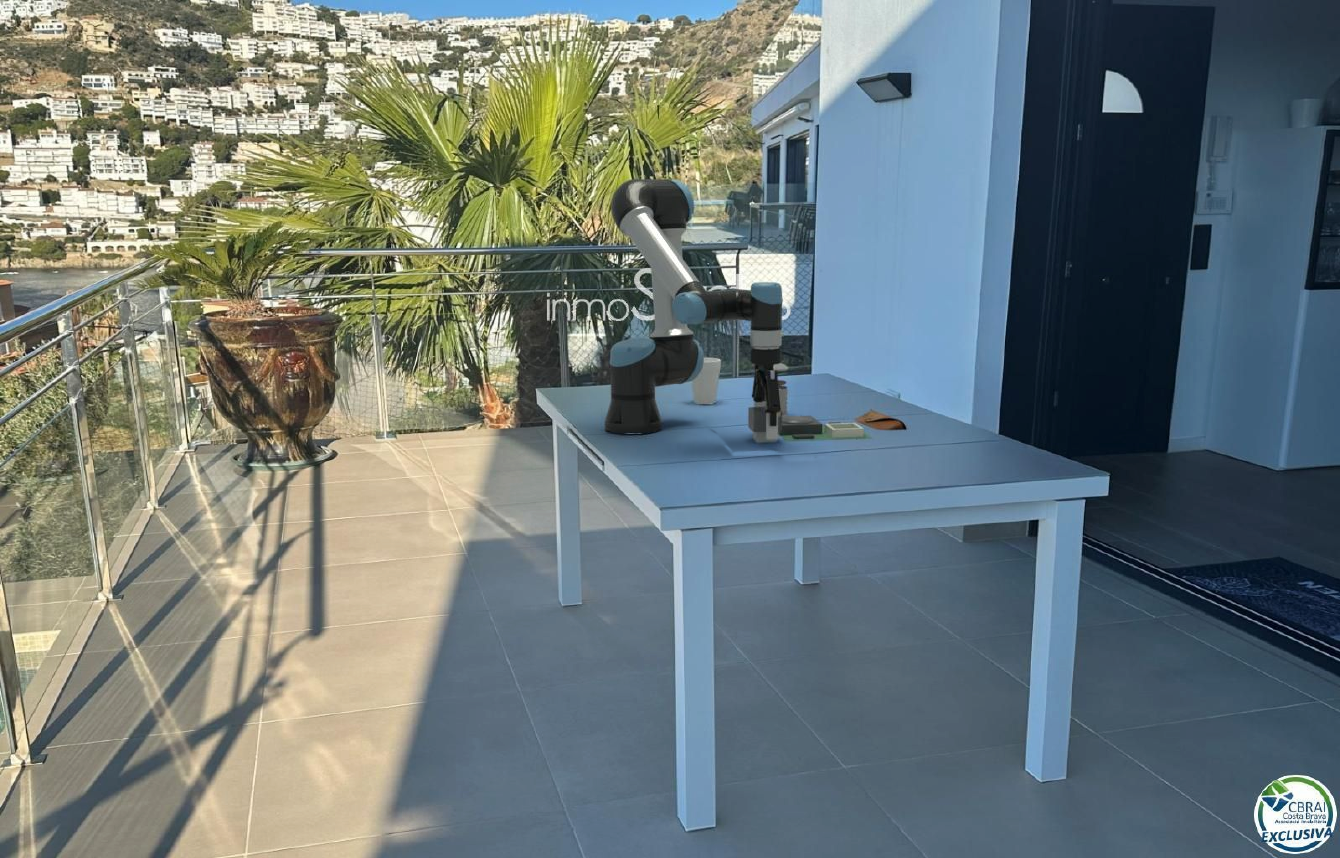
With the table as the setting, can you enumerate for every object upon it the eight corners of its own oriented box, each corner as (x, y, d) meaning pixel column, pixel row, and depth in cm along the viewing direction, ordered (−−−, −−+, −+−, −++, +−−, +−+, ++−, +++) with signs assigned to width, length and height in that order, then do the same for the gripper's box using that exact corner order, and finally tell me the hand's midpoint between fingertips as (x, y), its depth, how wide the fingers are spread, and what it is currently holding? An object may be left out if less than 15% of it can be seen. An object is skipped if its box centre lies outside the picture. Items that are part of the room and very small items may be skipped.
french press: (773, 420, 282) (775, 329, 276) (743, 414, 290) (744, 326, 285) (797, 416, 288) (799, 327, 283) (767, 410, 296) (769, 323, 291)
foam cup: (726, 401, 310) (726, 359, 307) (710, 406, 302) (710, 363, 299) (699, 399, 315) (699, 356, 312) (683, 403, 307) (683, 360, 304)
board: (786, 446, 251) (786, 434, 251) (769, 430, 269) (769, 420, 268) (873, 442, 254) (873, 431, 254) (850, 428, 272) (851, 417, 271)
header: (832, 438, 254) (832, 429, 254) (824, 432, 261) (824, 423, 261) (863, 437, 255) (863, 428, 255) (854, 431, 262) (855, 422, 262)
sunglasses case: (844, 422, 279) (856, 401, 278) (864, 434, 281) (876, 412, 281) (878, 436, 262) (891, 413, 262) (898, 448, 264) (911, 425, 264)
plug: (753, 448, 249) (753, 412, 247) (748, 442, 255) (748, 407, 253) (781, 447, 250) (782, 411, 248) (775, 441, 256) (776, 406, 254)
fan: (779, 435, 258) (779, 424, 257) (769, 426, 269) (769, 416, 268) (822, 433, 259) (822, 423, 259) (810, 424, 270) (810, 414, 270)
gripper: (794, 353, 236) (793, 443, 240) (769, 340, 260) (768, 423, 265) (762, 354, 235) (761, 444, 239) (740, 341, 259) (740, 424, 264)
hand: (765, 433), depth 252 cm, fingers open, 13 cm apart
